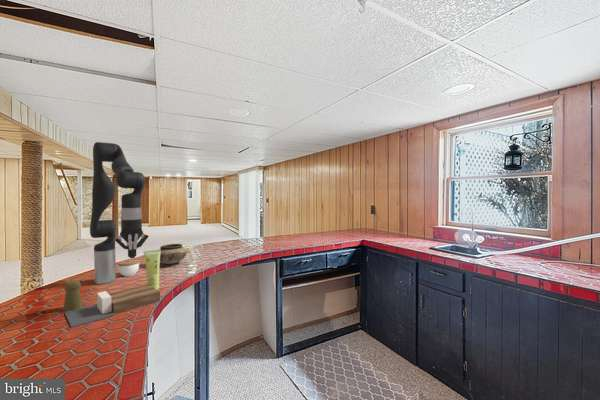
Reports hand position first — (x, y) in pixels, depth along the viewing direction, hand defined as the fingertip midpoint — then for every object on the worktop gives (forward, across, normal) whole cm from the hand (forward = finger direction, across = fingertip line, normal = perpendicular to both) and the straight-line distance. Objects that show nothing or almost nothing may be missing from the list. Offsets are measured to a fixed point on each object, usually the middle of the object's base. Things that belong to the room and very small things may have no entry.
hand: (132, 257), depth 114 cm
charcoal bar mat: (+20, +15, 0) cm, 25 cm away
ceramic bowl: (+21, -36, -50) cm, 65 cm away
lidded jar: (+21, -10, -46) cm, 52 cm away
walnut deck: (+20, 0, 0) cm, 20 cm away
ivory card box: (+16, +9, 0) cm, 18 cm away
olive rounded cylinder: (+20, +18, -12) cm, 30 cm away
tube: (+20, -12, -10) cm, 25 cm away
